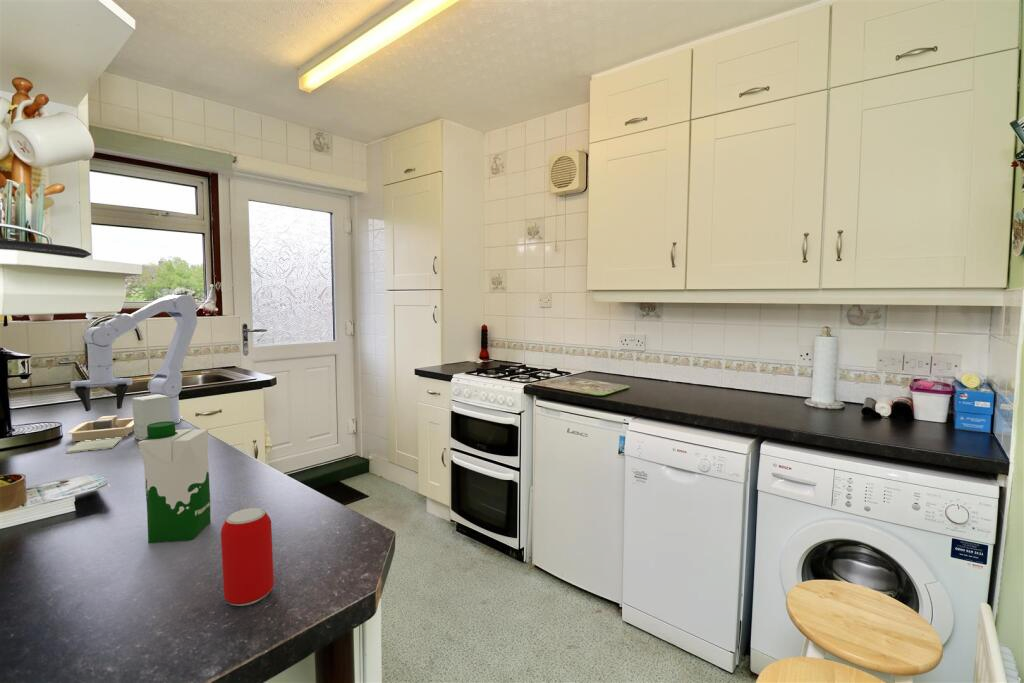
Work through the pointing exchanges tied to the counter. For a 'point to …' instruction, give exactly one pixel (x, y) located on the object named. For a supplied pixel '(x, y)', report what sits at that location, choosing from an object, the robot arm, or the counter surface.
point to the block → (105, 422)
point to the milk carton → (176, 482)
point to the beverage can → (247, 556)
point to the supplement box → (149, 412)
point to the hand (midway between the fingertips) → (104, 409)
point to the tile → (94, 445)
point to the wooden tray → (101, 430)
